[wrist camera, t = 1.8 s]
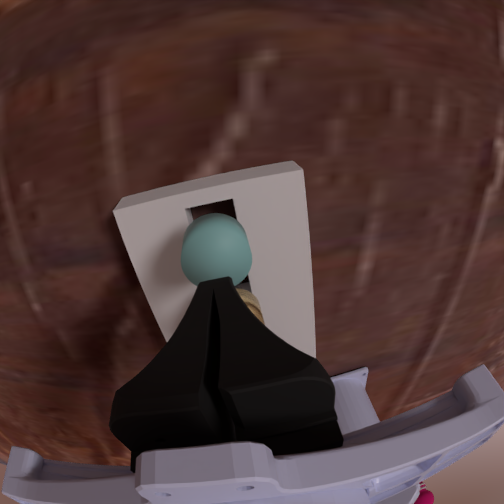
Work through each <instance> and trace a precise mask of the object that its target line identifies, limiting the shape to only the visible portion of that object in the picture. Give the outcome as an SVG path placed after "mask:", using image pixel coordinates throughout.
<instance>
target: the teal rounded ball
mask: <svg viewBox="0 0 504 504" xmlns="http://www.w3.org/2000/svg"><path fill="white" fill-rule="evenodd" d="M251 265H252V253H251V249H250V246H249V242H248V239H247V235H246V232H245V230H244V228H243V226H242V225H241V224H240V223H239V222H238V221H237V220H236V219H234V218H233V217H231V216H228V215H226V214H221V213H210V214H206V215H203V216H200V217H198V218H197V219H195V220H194V221H193V222H192V223H191V224H190V225H189V226H188V227H187V229H186V231H185V233H184V237H183V243H182V251H181V267H182V270H183V273H184V274H185V276H186V277H187V279H188V280H189V281H190V282H191V283H193V284H194V285H196V286H198V284H199V283H200V282H203V281H207V280H212V279H217V278H222V277H227V276H229V277H231V278H232V281H233V284H234V286H236V285H237V284H239V283H240V282H241V281H243V280H244V278H245V277H246V276H247V275H248V273H249V271H250V269H251Z"/></svg>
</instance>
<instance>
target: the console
mask: <svg viewBox="0 0 504 504" xmlns="http://www.w3.org/2000/svg"><path fill="white" fill-rule="evenodd" d="M228 199H233V204H234V209H235V214H236V219H237V221H238V222H239V223H240V224H241V225H242V226H243V228H244V230H245V232H246V235H247V239H248V242H249V246H250V249H251V253H252V265H251V269H250V271H249V273H248V278H249V282H246V283H241V284H240V285H241V286H242V289H244V290H247V291H249V292H251V293H252V294H253V295H254V296H255V297H256V298H257V299H258V301H259V304H260V307H261V311H262V315H263V319H264V323H265V326H266V327H267V328H268V329H270V330H271V331H272V332H273V333H274V334H276V335H277V336H278V337H280V338H281V339H283V340H284V341H285V342H287V343H288V344H290V345H291V346H293V347H295V348H296V349H298V350H300V351H302V352H304V353H306V354H308V355H310V356H312V357H314V358H316V346H315V319H314V298H313V280H312V265H311V250H310V237H309V225H308V214H307V203H306V193H305V183H304V173H303V169H302V168H301V167H300V166H298V165H297V164H296V163H295V162H294V161H287V162H281V163H275V164H270V165H264V166H258V167H253V168H248V169H243V170H237V171H232V172H228V173H223V174H218V175H213V176H209V177H204V178H199V179H195V180H191V181H186V182H182V183H178V184H174V185H169V186H165V187H161V188H157V189H153V190H149V191H146V192H142V193H138V194H134V195H130V196H127V197H123V198H122V199H121V200H120V202H119V203H118V204H117V206H116V207H115V209H114V210H113V213H114V216H115V219H116V222H117V224H118V227H119V230H120V233H121V235H122V238H123V241H124V244H125V246H126V249H127V251H128V254H129V257H130V259H131V262H132V264H133V267H134V269H135V272H136V274H137V277H138V279H139V282H140V284H141V286H142V289H143V291H144V293H145V296H146V298H147V300H148V303H149V305H150V307H151V309H152V312H153V314H154V316H155V318H156V320H157V323H158V325H159V327H160V329H161V331H162V333H163V335H164V338H165V340H166V342H168V341H169V339H170V338H171V336H172V335H173V333H174V332H175V330H176V329H177V327H178V325H179V323H180V322H181V320H182V318H183V316H184V315H185V313H186V311H187V309H188V307H189V305H190V303H191V300H192V298H193V296H194V294H195V291H196V289H197V286H196V285H194V284H193V283H191V282H190V281H189V280H188V279H187V277H186V276H185V274H184V273H183V270H182V267H181V251H182V243H183V237H184V233H185V231H186V229H187V227H188V226H189V225H190V224H191V223H192V222H193V217H192V213H191V209H190V208H191V207H195V206H200V205H204V204H209V203H214V202H218V201H223V200H228Z"/></svg>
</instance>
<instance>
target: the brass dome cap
mask: <svg viewBox="0 0 504 504" xmlns="http://www.w3.org/2000/svg"><path fill="white" fill-rule="evenodd" d="M235 288H236V290H237V292H238V294H239V295H240V297H241V298H242V300H243V301H244V302H245V304H246V305H247V306H248V308H249V309H250V310H251V311H252V313H253V314H254V315H255V316H256V317H257V318H258V319H259V320H260V321H261V322H262V323H263V324H264V325H265V323H264V319H263V315H262V311H261V307H260V304H259V301H258V299H257V298H256V297H255V296H254V295H253V294H252V293H251V292H249V291H247V290H244V289H242V286H241V285H240V283H239V284H237V285H236V286H235Z"/></svg>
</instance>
